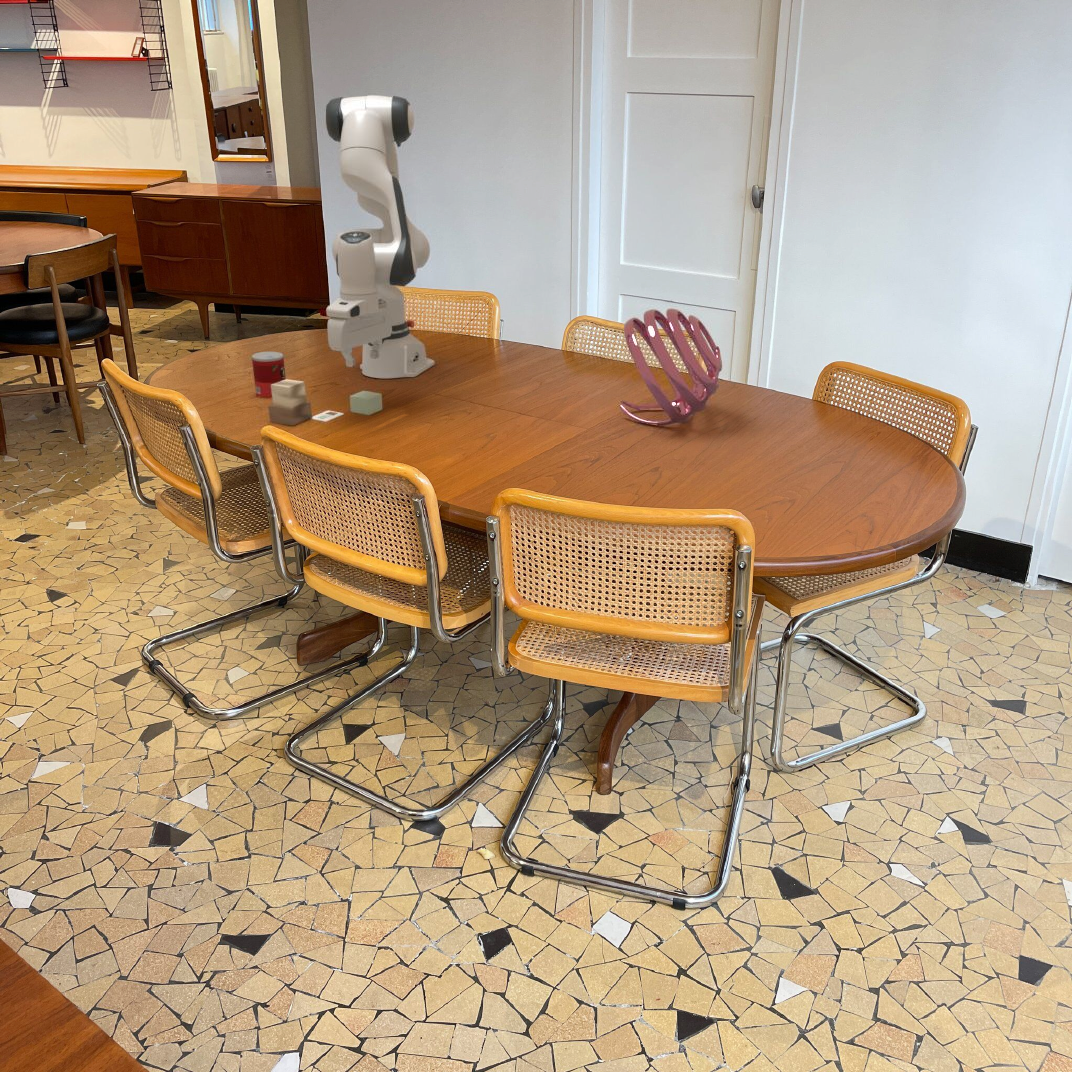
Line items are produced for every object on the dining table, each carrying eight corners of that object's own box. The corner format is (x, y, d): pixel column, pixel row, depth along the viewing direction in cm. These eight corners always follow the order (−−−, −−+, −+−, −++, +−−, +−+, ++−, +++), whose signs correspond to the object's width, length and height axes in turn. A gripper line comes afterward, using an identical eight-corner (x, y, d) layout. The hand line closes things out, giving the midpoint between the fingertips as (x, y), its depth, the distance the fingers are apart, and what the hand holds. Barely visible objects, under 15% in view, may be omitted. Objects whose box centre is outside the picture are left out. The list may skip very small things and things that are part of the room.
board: (293, 405, 254) (293, 401, 253) (350, 416, 246) (349, 412, 245) (242, 425, 239) (242, 420, 239) (301, 438, 231) (300, 433, 231)
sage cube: (365, 409, 252) (363, 390, 249) (382, 413, 249) (381, 393, 247) (351, 415, 247) (349, 396, 245) (368, 419, 245) (367, 399, 243)
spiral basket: (571, 344, 234) (672, 282, 224) (603, 345, 260) (695, 290, 250) (627, 450, 234) (731, 393, 224) (653, 441, 260) (748, 389, 250)
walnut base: (290, 413, 245) (288, 398, 243) (312, 417, 242) (310, 401, 240) (270, 421, 239) (268, 405, 238) (292, 425, 236) (290, 409, 235)
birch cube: (289, 399, 242) (286, 379, 240) (306, 402, 240) (304, 381, 238) (273, 405, 238) (270, 384, 236) (291, 408, 235) (288, 387, 233)
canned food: (280, 402, 256) (275, 360, 252) (250, 400, 258) (246, 358, 253) (292, 393, 263) (288, 352, 258) (264, 391, 264) (259, 350, 260)
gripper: (375, 296, 246) (378, 351, 252) (321, 310, 230) (325, 369, 235) (396, 298, 243) (399, 354, 249) (342, 312, 227) (347, 372, 233)
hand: (363, 362), depth 242 cm, fingers open, 8 cm apart
